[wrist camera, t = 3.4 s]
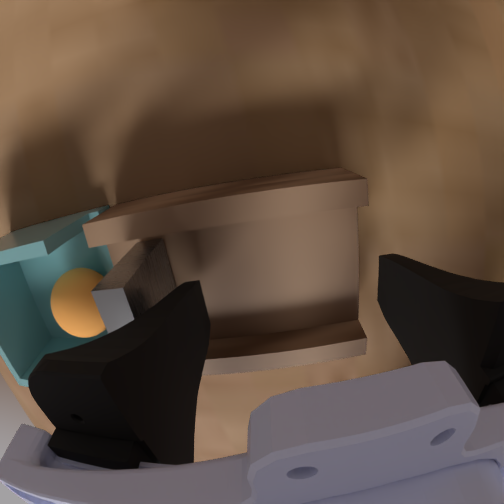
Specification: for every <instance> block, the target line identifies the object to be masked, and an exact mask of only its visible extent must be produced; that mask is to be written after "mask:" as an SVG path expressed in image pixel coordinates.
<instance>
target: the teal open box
mask: <svg viewBox="0 0 504 504" xmlns="http://www.w3.org/2000/svg"><path fill="white" fill-rule="evenodd" d="M107 209H109V205H107V206H103V207H99V208H95V209H91V210H87V211H83V212H79V213H75V214H71V215H68V216H64V217H60V218H57V219H53V220H50V221H46V222H43V223H39V224H36V225H32V226H29V227H26V228H22V229H19V230H16V231H13V232H10V233H8V234H6V235H5V236H3V237H1V238H0V355H1V356H2V358H3V360H4V361H5V363H6V365H7V366H8V368H9V370H10V371H11V373H12V374H13V376H14V377H15V379H16V380H17V382H18V383H19V385H21V386H26V387H29V386H28V377H29V375H30V373H31V372H32V371H33V369H34V368H35V367H36V365H37V364H38V363H39V361H40V360H41V359H42V357H43V356H44V355H45V354H49V353H53V352H57V351H61V350H65V349H69V348H73V347H76V346H79V345H82V344H85V343H88V342H90V341H93V340H95V339H98V338H100V337H102V336H104V335H106V334H108V332H107V329H105V330H104V331H103V332H101V333H100V334H98V335H96V336H93V337H87V338H82V337H76V336H73V335H71V334H69V333H67V332H66V331H65V330H63V329H62V328H61V327H60V326H59V324H58V323H57V322H56V320H55V318H54V316H53V313H52V310H51V293H52V289H53V287H54V285H55V283H56V281H57V280H58V279H59V277H60V276H61V275H63V274H64V273H65V272H67V271H69V270H72V269H75V268H88V269H92V270H94V271H96V272H98V273H100V274H101V275H102V276H104V277H105V275H106V274H107V273H108V272H109V271H110V270H111V269H112V268H113V267H114V266H113V263H112V260H111V257H110V254H109V250H108V247H107V245H102V246H97V247H91V248H89V247H88V243H87V240H86V237H85V233H84V230H83V227H82V225H83V224H84V223H86V222H87V221H89V220H91V219H92V218H94V217H96V216H97V215H99V214H101V213H102V212H104V211H106V210H107Z"/></svg>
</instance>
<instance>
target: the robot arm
mask: <svg viewBox="0 0 504 504" xmlns="http://www.w3.org/2000/svg"><path fill="white" fill-rule="evenodd" d="M377 300H378V303H379V305H380V308H381V310H382V313H383V315H384V317H385V319H386V321H387V323H388V324H389V326H390V328H391V329H392V331H393V333H394V334H395V336H396V338H397V339H398V341H399V343H400V344H401V346H402V348H403V349H404V351H405V353H406V354H407V356H408V358H409V360H410V362H411V364H412V365H411V366H407V367H403V368H399V369H395V370H391V371H387V372H383V373H379V374H375V375H370V376H365V377H361V378H356V379H351V380H346V381H340V382H335V383H329V384H323V385H317V386H311V387H304V388H298V389H295V390H292V391H289V392H285V393H282V394H279V395H275V396H272V397H270V398H269V399H267V400H266V401H265V402H264V403H262V404H261V405H260V406H259V407H257V408H256V409H255V410H254V411H252V412H251V415H250V420H249V425H248V445H247V453H242V454H238V455H233V456H228V457H223V458H218V459H213V460H207V461H201V462H195V463H194V433H195V416H196V406H197V396H198V390H199V385H200V381H201V376H202V372H203V368H204V364H205V359H206V355H207V351H208V346H209V339H210V326H211V323H210V319H209V315H208V311H207V307H206V304H205V300H204V296H203V292H202V288H201V284H200V280H197V281H188V282H184V283H182V284H181V285H179V286H178V287H176V288H175V289H174V290H173V291H171V292H170V293H169V294H168V295H166V296H165V297H164V298H163V299H161V300H160V301H159V302H158V303H156V304H155V305H154V306H152V307H151V308H150V309H148V310H147V311H146V312H144V313H143V314H141V315H140V316H139V317H137V318H136V319H134V320H132V321H131V322H129V323H127V324H126V325H124V326H122V327H121V328H119V329H117V330H115V331H113V332H110V333H108V334H106V335H104V336H102V337H100V338H98V339H95V340H93V341H90V342H88V343H85V344H82V345H79V346H76V347H73V348H69V349H65V350H61V351H57V352H53V353H49V354H45V355H44V356H43V357H42V359H41V360H40V361H39V363H38V364H37V365H36V367H35V368H34V369H33V371H32V372H31V373H30V375H29V377H28V386H29V389H30V392H31V395H32V396H33V398H34V400H35V401H36V403H37V404H38V406H39V407H40V408H41V410H42V411H43V412H44V413H45V415H46V416H47V417H48V419H49V420H50V421H51V422H52V424H53V425H54V426H55V427H56V429H55V431H54V433H53V435H51V434H49V433H48V432H46V431H45V430H42V429H39V428H36V427H32V426H29V425H26V424H21V425H20V427H19V429H18V431H17V432H16V434H15V436H14V437H13V439H12V441H11V443H10V444H9V446H8V448H7V450H6V452H5V454H4V455H3V457H2V459H1V461H0V482H1V483H3V484H4V485H5V486H6V487H7V488H9V489H10V490H11V491H12V492H14V493H15V494H16V495H18V496H19V497H20V498H21V499H23V500H24V501H25V502H26V503H28V504H504V283H501V282H491V281H484V280H478V279H473V278H468V277H464V276H460V275H456V274H453V273H449V272H446V271H443V270H440V269H437V268H434V267H432V266H429V265H426V264H423V263H421V262H418V261H415V260H413V259H410V258H407V257H404V256H401V255H397V254H387V255H380V256H379V278H378V299H377Z"/></svg>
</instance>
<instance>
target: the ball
mask: <svg viewBox="0 0 504 504" xmlns="http://www.w3.org/2000/svg"><path fill="white" fill-rule="evenodd" d="M103 278H104V276H102V275H101V274H100V273H98V272H96V271H94V270H92V269H88V268H75V269H72V270H69V271H67V272H65V273H64V274H63V275H61V276H60V277H59V279H58V280H57V281H56V283H55V285H54V287H53V289H52V293H51V310H52V313H53V316H54V318H55V320H56V322H57V323H58V324H59V326H60V327H61V328H62V329H63V330H65V331H66V332H67V333H69V334H71V335H73V336H76V337H82V338H87V337H93V336H96V335H98V334H100V333H101V332H103V331H104V330H105V329H106V327H105V325H104V322H103V320H102V318H101V315H100V313H99V311H98V308H97V306H96V303H95V301H94V298H93V296H92V293H91V291H92V290H93V288H94V287H95V286H96V285H97V284H98V283H99V282H100V281H101V280H102V279H103Z"/></svg>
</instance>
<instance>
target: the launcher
mask: <svg viewBox="0 0 504 504" xmlns="http://www.w3.org/2000/svg"><path fill="white" fill-rule="evenodd" d="M362 206H369V201H368V184H367V178H364V177H362V176H360V175H357V174H355V173H353V172H350V171H348V170H346V169H343V168H333V169H324V170H315V171H306V172H297V173H289V174H282V175H274V176H267V177H260V178H253V179H246V180H240V181H234V182H227V183H221V184H215V185H209V186H204V187H198V188H193V189H187V190H182V191H177V192H172V193H167V194H162V195H157V196H152V197H147V198H142V199H138V200H133V201H129V202H124V203H120V204H116V205H114V206H113V207H111V208H109V209H107V210H106V211H104V212H102V213H101V214H99V215H97V216H96V217H94V218H92V219H91V220H89V221H87V222H86V223H84V224H83V225H82V227H83V230H84V233H85V237H86V240H87V243H88V247H89V248H91V247H97V246H102V245H107V247H108V250H109V254H110V257H111V260H112V263H113V266H115V265H116V264H117V263H118V262H119V261H120V260H121V259H122V258H123V256H124V255H125V254H126V253H127V252H128V251H129V250H130V249H131V248H132V247H133V246H134V245H135V244H136V243H137V242H142V241H148V240H154V239H160V238H163V241H164V245H165V249H166V253H167V256H168V260H169V264H170V268H171V271H172V275H173V278H174V282H175V285H176V287H178V286H179V285H181V284H182V283H184V282H188V281H197V280H200V284H201V288H202V292H203V296H204V300H205V304H206V307H207V311H208V315H209V319H210V323H211V326H210V339H209V346H208V351H207V355H206V359H205V364H204V368H203V372H202V375H217V374H231V373H242V372H253V371H262V370H271V369H279V368H287V367H294V366H301V365H308V364H315V363H321V362H327V361H333V360H338V359H344V358H349V357H354V356H359V355H364V354H366V345H367V337H366V335H365V333H364V330H363V328H362V326H361V324H360V322H359V320H358V309H359V246H358V219H357V207H362Z"/></svg>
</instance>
